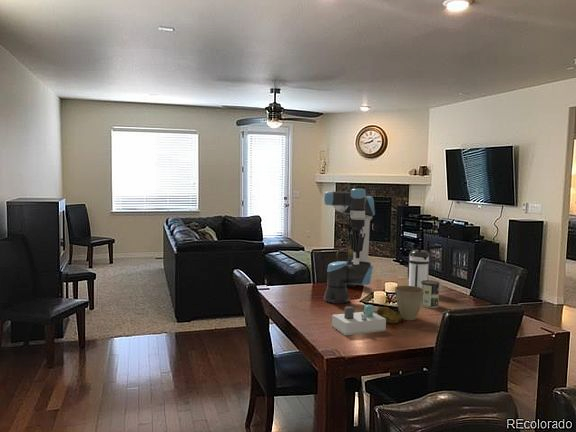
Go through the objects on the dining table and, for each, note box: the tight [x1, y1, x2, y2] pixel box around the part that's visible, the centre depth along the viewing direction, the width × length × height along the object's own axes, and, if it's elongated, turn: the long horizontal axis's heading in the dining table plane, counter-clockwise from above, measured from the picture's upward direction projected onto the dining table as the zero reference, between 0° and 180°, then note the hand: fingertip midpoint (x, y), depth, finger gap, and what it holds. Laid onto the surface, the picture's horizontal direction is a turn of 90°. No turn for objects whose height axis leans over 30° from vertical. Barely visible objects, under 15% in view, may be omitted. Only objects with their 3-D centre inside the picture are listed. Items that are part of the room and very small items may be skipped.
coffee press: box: [407, 246, 431, 288], centre depth 315 cm, size 17×16×30 cm
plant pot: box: [394, 285, 424, 321], centre depth 254 cm, size 15×15×16 cm
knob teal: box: [363, 304, 374, 317], centre depth 238 cm, size 4×4×10 cm
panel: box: [331, 311, 387, 336], centre depth 236 cm, size 14×22×6 cm, turn 111°
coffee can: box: [421, 279, 440, 309], centre depth 281 cm, size 10×10×14 cm
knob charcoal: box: [343, 306, 355, 319], centre depth 234 cm, size 4×4×10 cm
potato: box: [376, 306, 403, 325], centre depth 247 cm, size 8×13×8 cm, turn 75°
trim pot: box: [361, 311, 367, 321], centre depth 231 cm, size 3×3×4 cm
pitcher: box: [335, 241, 356, 287], centre depth 331 cm, size 11×19×30 cm, turn 63°
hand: (356, 264), depth 249 cm, fingers closed
